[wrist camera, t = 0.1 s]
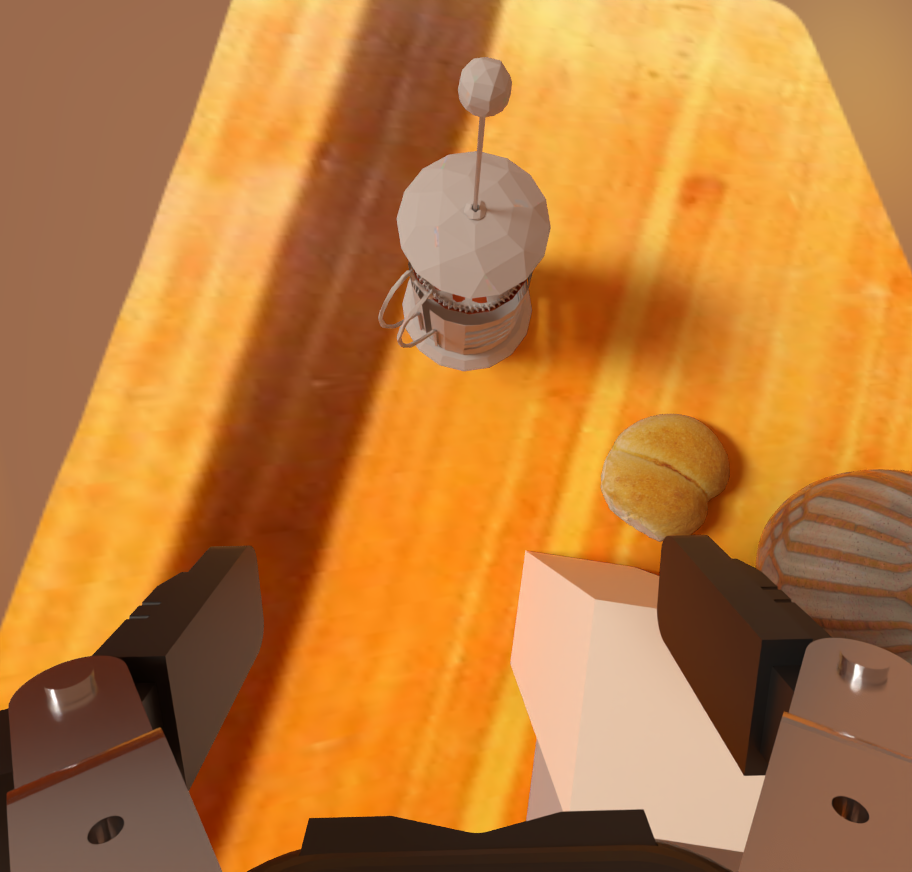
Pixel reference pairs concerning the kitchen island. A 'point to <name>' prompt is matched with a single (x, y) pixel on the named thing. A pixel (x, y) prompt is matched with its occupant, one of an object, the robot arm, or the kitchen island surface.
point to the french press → (471, 243)
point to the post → (622, 705)
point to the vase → (847, 556)
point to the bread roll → (664, 475)
